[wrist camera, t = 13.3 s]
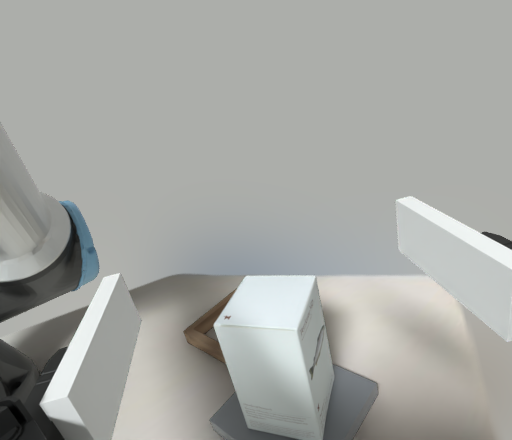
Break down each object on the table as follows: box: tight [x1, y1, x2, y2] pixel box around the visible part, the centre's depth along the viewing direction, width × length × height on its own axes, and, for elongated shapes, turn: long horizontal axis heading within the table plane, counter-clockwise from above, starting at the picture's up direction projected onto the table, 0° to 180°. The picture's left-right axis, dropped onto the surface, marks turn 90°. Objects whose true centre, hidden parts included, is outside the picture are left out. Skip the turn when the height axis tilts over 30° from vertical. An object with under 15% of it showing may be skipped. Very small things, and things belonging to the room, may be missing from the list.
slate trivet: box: [210, 364, 378, 440], centre depth 34 cm, size 12×12×2 cm
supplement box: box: [213, 275, 335, 440], centre depth 31 cm, size 7×7×13 cm
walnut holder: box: [183, 289, 237, 365], centre depth 47 cm, size 12×12×2 cm
